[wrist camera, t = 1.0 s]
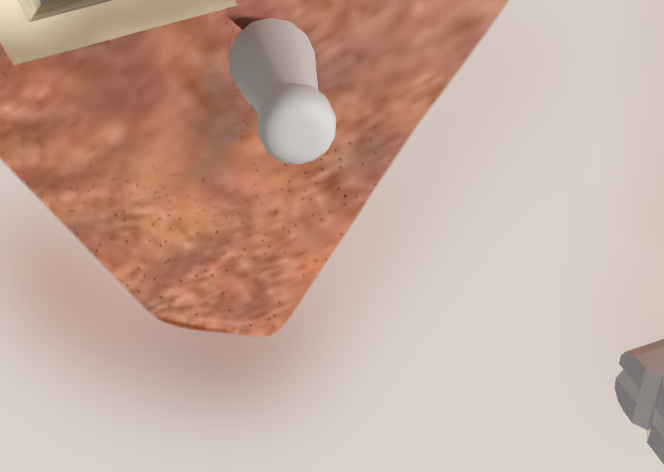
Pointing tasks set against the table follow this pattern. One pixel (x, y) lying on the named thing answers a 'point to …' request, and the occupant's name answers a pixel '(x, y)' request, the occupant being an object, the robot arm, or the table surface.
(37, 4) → the socket block
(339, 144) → the table surface
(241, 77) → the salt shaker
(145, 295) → the table surface
